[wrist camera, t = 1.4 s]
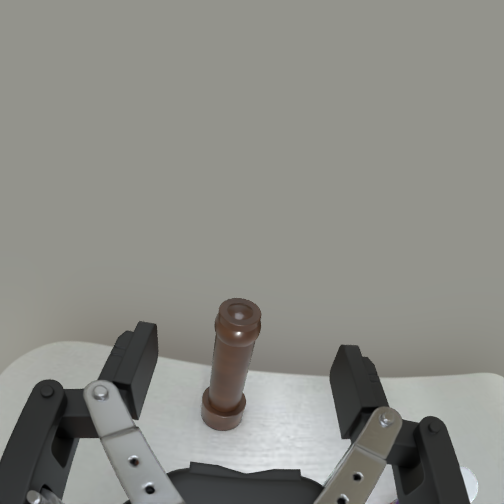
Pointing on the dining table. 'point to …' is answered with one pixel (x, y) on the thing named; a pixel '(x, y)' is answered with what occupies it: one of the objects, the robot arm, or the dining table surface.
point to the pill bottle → (469, 482)
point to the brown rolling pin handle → (230, 363)
